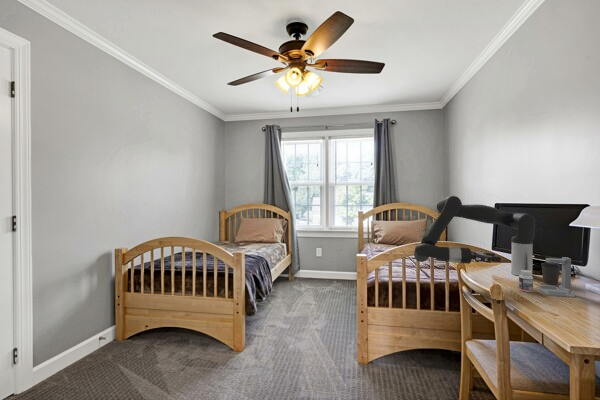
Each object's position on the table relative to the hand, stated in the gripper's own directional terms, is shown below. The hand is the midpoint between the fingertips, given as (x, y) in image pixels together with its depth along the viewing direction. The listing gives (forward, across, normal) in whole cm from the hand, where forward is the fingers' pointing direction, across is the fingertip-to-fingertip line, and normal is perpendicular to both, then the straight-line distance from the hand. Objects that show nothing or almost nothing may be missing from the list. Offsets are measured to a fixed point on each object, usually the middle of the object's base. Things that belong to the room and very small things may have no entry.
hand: (497, 257), depth 141 cm
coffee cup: (+28, +16, +14) cm, 35 cm away
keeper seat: (+23, 0, +14) cm, 27 cm away
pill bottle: (+12, 0, +14) cm, 18 cm away
